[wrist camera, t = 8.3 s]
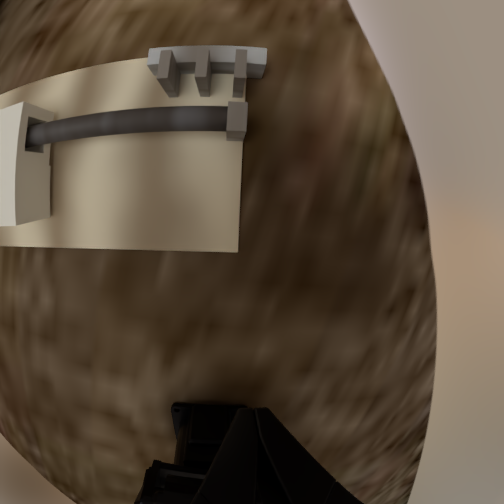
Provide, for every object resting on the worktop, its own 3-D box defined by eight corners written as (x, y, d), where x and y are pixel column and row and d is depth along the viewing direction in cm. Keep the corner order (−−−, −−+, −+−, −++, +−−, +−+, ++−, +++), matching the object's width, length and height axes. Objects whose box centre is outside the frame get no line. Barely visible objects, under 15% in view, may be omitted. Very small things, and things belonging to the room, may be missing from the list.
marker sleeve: (55, 113, 14) (23, 101, 10) (50, 217, 16) (15, 225, 12) (18, 122, 14) (-15, 115, 10) (13, 218, 15) (-20, 227, 12)
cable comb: (262, 60, 16) (272, 27, 11) (253, 251, 18) (261, 271, 14) (-16, 104, 13) (-46, 96, 9) (-22, 243, 16) (-54, 255, 12)
